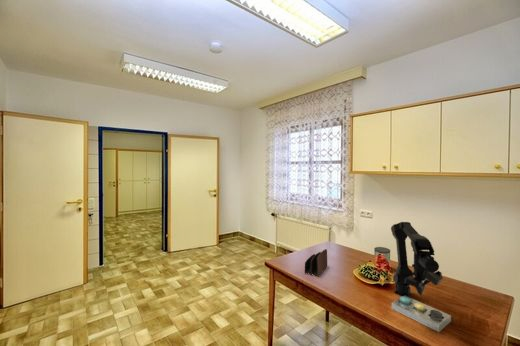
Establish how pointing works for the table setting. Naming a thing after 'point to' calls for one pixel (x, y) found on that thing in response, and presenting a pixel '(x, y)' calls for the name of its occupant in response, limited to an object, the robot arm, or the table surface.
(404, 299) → the button teal
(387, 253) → the coffee can
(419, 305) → the button mustard
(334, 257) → the table surface
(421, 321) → the console panel
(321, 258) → the letter holder
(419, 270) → the robot arm
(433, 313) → the button black
